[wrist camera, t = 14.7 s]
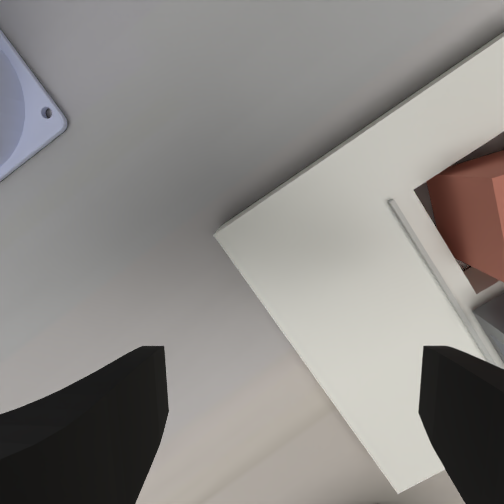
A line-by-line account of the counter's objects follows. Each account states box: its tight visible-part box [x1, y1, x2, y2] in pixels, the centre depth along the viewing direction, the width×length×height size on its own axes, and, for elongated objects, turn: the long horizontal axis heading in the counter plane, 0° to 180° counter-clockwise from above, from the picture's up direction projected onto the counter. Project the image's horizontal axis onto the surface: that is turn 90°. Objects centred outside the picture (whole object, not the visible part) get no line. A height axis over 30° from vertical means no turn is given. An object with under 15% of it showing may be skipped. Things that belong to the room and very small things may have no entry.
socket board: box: [214, 32, 504, 494], centre depth 19 cm, size 16×16×3 cm
